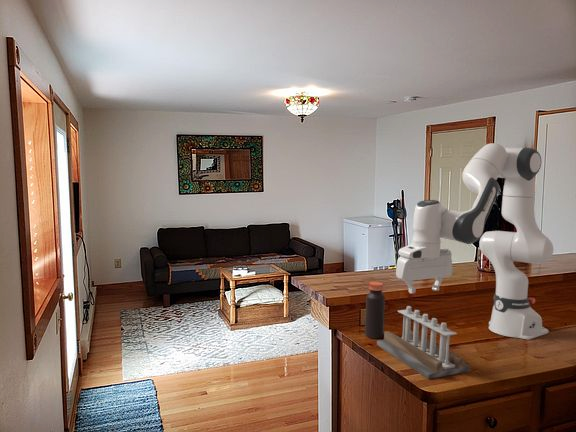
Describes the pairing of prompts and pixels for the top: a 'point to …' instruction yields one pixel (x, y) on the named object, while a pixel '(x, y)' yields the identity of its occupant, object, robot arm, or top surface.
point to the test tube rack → (434, 329)
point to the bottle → (375, 311)
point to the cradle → (420, 356)
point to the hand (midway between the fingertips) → (423, 291)
